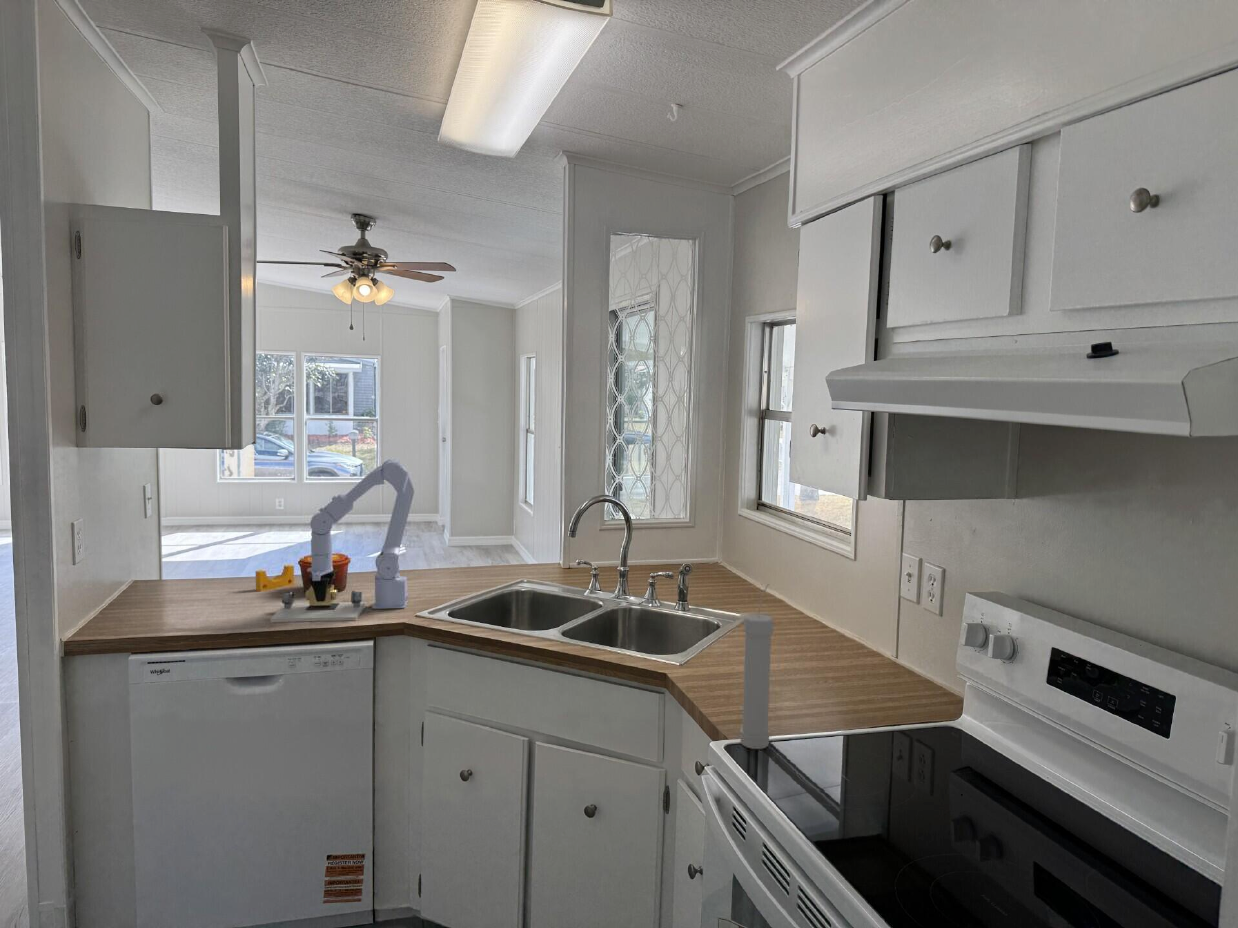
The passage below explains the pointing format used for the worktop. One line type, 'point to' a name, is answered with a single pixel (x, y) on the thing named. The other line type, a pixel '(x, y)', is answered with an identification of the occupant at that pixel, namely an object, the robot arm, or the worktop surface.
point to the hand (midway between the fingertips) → (322, 599)
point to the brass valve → (329, 597)
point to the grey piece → (756, 680)
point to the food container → (339, 568)
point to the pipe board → (319, 610)
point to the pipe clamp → (275, 579)
